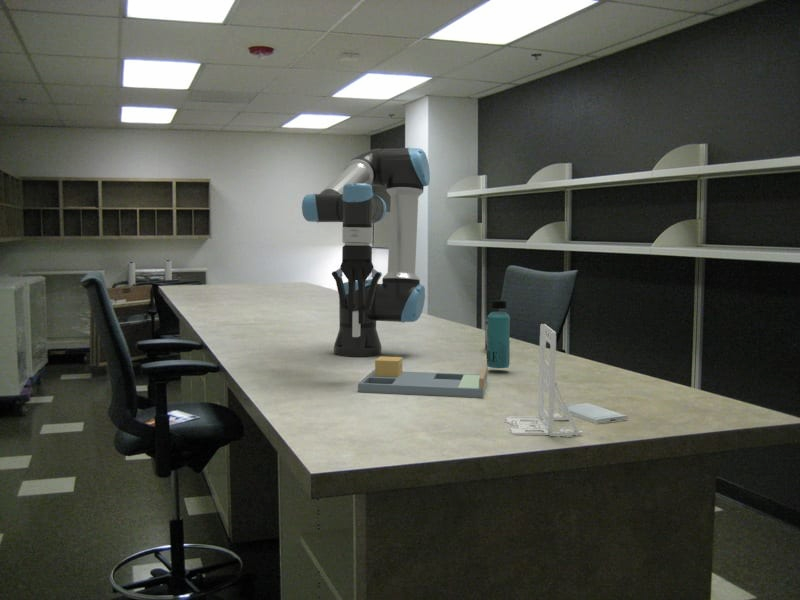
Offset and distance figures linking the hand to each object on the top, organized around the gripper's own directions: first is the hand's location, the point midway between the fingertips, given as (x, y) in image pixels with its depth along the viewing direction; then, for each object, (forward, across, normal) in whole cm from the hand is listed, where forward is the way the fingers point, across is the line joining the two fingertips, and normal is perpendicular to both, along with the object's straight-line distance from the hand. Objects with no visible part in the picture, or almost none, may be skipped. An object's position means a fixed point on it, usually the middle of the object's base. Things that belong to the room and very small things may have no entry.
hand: (356, 336), depth 192 cm
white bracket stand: (+12, +46, -37) cm, 61 cm away
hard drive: (+13, +58, -25) cm, 64 cm away
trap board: (+12, +18, -4) cm, 22 cm away
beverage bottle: (+11, +36, +21) cm, 43 cm away
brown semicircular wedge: (+11, +34, +56) cm, 66 cm away
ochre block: (+10, +8, 0) cm, 13 cm away
